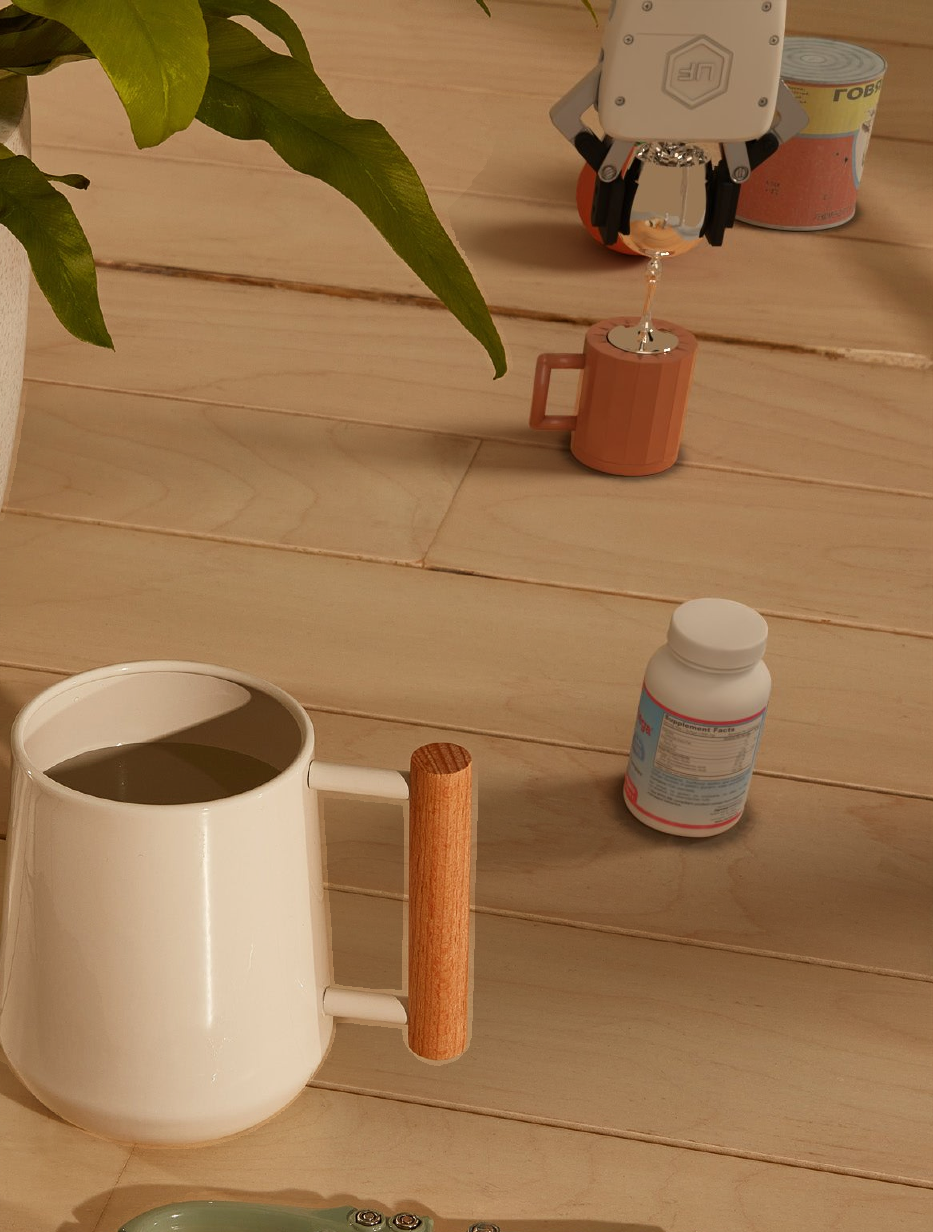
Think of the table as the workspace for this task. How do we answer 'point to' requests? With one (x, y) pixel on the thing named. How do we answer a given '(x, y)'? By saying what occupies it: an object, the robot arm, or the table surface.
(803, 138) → the canned food
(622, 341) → the wineglass
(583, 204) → the tomato
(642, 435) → the mug
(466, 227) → the table surface
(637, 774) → the pill bottle
